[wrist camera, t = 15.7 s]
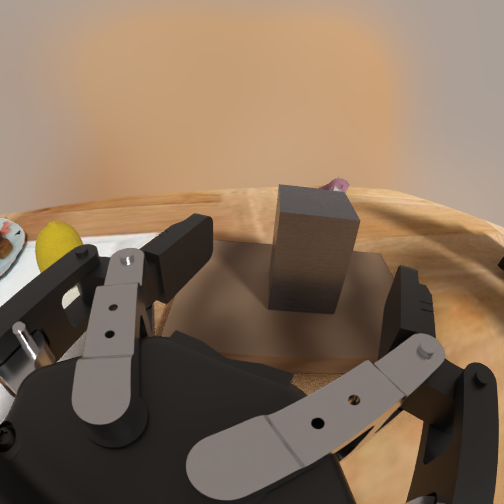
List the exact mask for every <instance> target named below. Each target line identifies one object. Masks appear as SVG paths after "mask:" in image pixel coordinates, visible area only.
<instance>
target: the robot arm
mask: <svg viewBox="0 0 504 504" xmlns="http://www.w3.org/2000/svg"><path fill="white" fill-rule="evenodd" d="M212 253H213V220H212V218H211V217H209V216H205V215H201V214H196V213H195V214H193V215H191V216H190V217H189V218H187V219H186V220H184V221H182V222H179V223H177V224H174V225H172V226H170V227H169V228H167V229H166V230H165V231H164V232H162V233H161V234H159V236H157V237H155V238H154V239H152V240H151V241H150V242H148V243H147V244H146V245H144V246H143V247H142V248H140V249H136V248H126V249H122V250H119V251H117V252H116V253H114V254H113V255H112V256H111V257H100V256H99V255H98V250H97V247H96V246H94V245H91V244H85V245H80V246H78V247H75V248H74V249H72V250H71V251H69V252H68V253H67V254H65V255H64V256H63V257H61V258H60V259H59V260H57V261H56V262H55V263H53V264H52V265H51V266H50V267H48V268H47V269H46V270H44V271H43V272H42V273H41V274H39V275H38V276H37V277H36V278H34V279H33V280H32V281H31V282H30V283H28V284H27V285H26V286H25V287H23V288H22V289H21V290H20V291H19V292H17V293H16V294H15V295H14V296H13V297H12V298H10V299H9V300H8V301H7V302H6V303H5V304H4V305H2V306H1V307H0V384H2V385H3V386H4V388H5V389H6V390H7V391H8V392H9V393H10V395H11V396H13V397H15V400H14V402H13V405H12V407H11V409H10V411H9V413H8V415H7V417H6V418H5V420H4V422H3V423H2V424H1V425H0V504H356V502H355V499H354V497H353V494H352V492H351V490H350V487H349V485H348V482H347V480H346V477H345V475H344V473H343V470H342V468H341V465H340V463H341V462H342V461H344V460H345V459H347V458H348V457H349V456H351V455H352V454H353V453H355V452H356V451H357V450H358V449H360V448H361V447H362V446H363V445H364V444H365V443H367V442H368V441H369V440H370V439H371V438H373V437H374V436H375V435H376V434H378V433H379V432H380V431H381V430H382V429H384V428H385V427H386V426H387V425H389V424H390V423H391V422H392V421H393V420H394V419H396V418H397V417H398V416H399V415H400V414H401V413H402V412H403V411H407V412H408V413H410V414H412V415H414V416H415V417H417V418H419V419H421V420H423V421H424V422H423V429H422V435H421V441H420V446H419V451H418V456H417V461H416V465H415V470H414V474H413V478H412V482H411V486H410V490H409V493H408V497H407V500H406V503H405V504H493V500H494V493H495V485H496V476H497V464H498V442H499V418H498V396H497V383H496V379H495V376H494V374H493V373H492V371H491V370H490V369H489V368H488V367H487V366H485V365H483V364H481V363H476V362H474V363H471V364H469V365H467V367H466V368H465V369H462V368H460V367H458V366H456V365H455V364H453V363H451V362H449V361H448V360H447V359H445V351H444V348H443V346H442V345H441V343H440V342H439V341H438V340H437V339H436V335H435V322H434V314H433V312H434V311H433V306H432V305H433V302H432V295H431V293H430V291H429V290H428V288H427V286H426V285H422V284H419V281H418V271H417V270H415V269H412V268H408V267H405V266H401V265H400V266H399V267H398V270H397V272H396V275H395V278H394V280H393V283H392V286H391V288H390V291H389V294H388V296H387V299H386V302H385V306H384V312H383V321H382V330H381V338H380V346H379V353H378V360H377V362H375V363H373V362H372V361H371V360H367V361H365V362H363V363H361V364H360V365H358V366H357V367H355V368H354V369H352V370H350V371H349V372H347V373H346V374H344V375H342V376H341V377H339V378H337V379H336V380H334V381H332V382H331V383H329V384H327V385H326V386H324V387H322V388H320V389H319V390H317V391H315V392H313V393H312V394H310V395H308V396H307V395H306V394H305V393H304V392H303V391H301V390H300V389H299V388H297V387H296V386H294V385H293V384H291V382H292V379H293V375H294V374H292V373H289V372H286V371H283V370H280V369H277V368H274V367H271V366H268V365H265V364H262V363H254V362H247V361H240V360H234V359H228V358H226V357H224V356H223V355H221V354H220V353H218V352H217V351H216V350H214V349H213V348H211V347H210V346H208V345H207V344H206V343H204V342H203V341H201V340H199V339H196V338H194V337H192V336H189V335H187V334H184V333H182V332H180V331H177V330H175V331H174V333H173V334H172V335H171V336H170V337H162V336H155V332H154V305H153V303H154V302H155V301H156V300H158V301H160V302H162V303H165V304H167V303H168V302H169V301H170V300H171V299H172V298H173V297H174V296H175V295H176V294H177V293H178V292H179V291H180V290H181V289H182V288H183V287H184V286H185V285H186V284H187V283H188V282H189V281H190V280H191V279H192V278H193V277H194V276H195V275H196V274H197V273H198V272H199V271H200V270H201V268H202V267H203V266H204V265H205V264H206V263H207V262H208V261H209V260H210V258H211V256H212ZM75 284H76V285H77V287H78V290H79V293H80V295H79V296H78V297H77V298H76V299H75V300H74V301H73V302H72V303H71V304H70V305H69V306H67V307H66V308H65V309H63V306H62V298H63V296H64V294H65V293H66V292H67V291H69V290H70V289H71V288H72V287H73V286H74V285H75ZM86 330H87V334H86V339H85V345H84V351H83V355H82V356H79V357H75V358H72V359H68V360H65V361H61V362H57V361H58V360H59V359H60V358H61V357H62V356H63V355H64V353H65V352H66V351H67V350H68V349H69V348H70V347H71V346H72V345H73V344H74V343H75V342H76V341H77V340H78V339H79V337H80V336H81V335H82V334H83V333H84V332H85V331H86ZM56 362H57V363H56Z"/></svg>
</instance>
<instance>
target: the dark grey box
mask: <svg viewBox="0 0 504 504" xmlns="http://www.w3.org/2000/svg"><path fill="white" fill-rule="evenodd" d="M359 224H360V219H359V218H358V216H357V214H356V212H355V210H354V208H353V207H352V205H351V203H350V201H349V199H348V198H347V196H346V194H345V192H340V191H333V190H325V189H316V188H308V187H299V186H289V185H279V189H278V199H277V208H276V217H275V226H274V235H273V244H272V253H271V261H270V270H269V293H268V310H277V311H290V312H303V313H318V314H334V313H335V310H336V307H337V304H338V300H339V297H340V294H341V291H342V287H343V284H344V280H345V277H346V273H347V270H348V266H349V263H350V259H351V255H352V252H353V248H354V244H355V240H356V236H357V232H358V228H359Z"/></svg>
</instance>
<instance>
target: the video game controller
mask: <svg viewBox="0 0 504 504" xmlns="http://www.w3.org/2000/svg"><path fill="white" fill-rule="evenodd" d="M348 186H349V184H348V182H347V181H346V180H344V179H340V177H339V178H338V179H334V180H332V181H331V182H330V183H329V184H327V185H325V186H322V187H320V188H319V189H325V190H333V191H340V192H346V190H347V188H348Z"/></svg>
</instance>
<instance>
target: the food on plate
mask: <svg viewBox="0 0 504 504" xmlns="http://www.w3.org/2000/svg"><path fill="white" fill-rule="evenodd" d="M19 230H20V231H21V232H20V234H16V233H17V232H18V231H19ZM15 234H16V235H15ZM25 235H26V233H25V231H24V230H23V229H22V228H21V227H20V226H18V224H15V223H14V222H12V221H9V220H8V219H7V218H0V276H2V275H4V272H6V271H7V270H8V269H9V268H10V266H11V264H12V263H13V262H14V261H15V260H16V256H17V255H18V253H19V252H20V250H21V249H22V248H23V247H22V246H23V244H24V243H25Z"/></svg>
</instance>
